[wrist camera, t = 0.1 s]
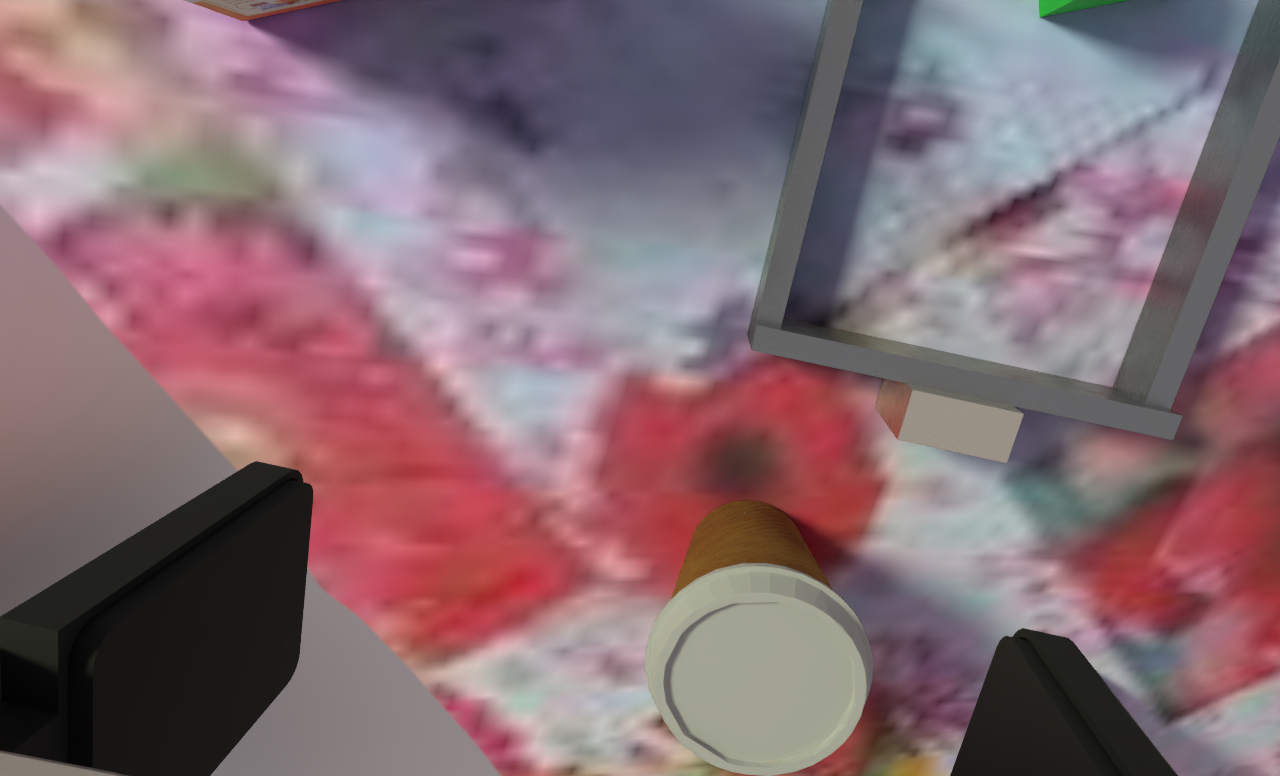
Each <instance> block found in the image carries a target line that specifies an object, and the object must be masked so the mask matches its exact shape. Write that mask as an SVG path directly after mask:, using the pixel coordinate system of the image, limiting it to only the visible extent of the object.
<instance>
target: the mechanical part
mask: <svg viewBox="0 0 1280 776" xmlns="http://www.w3.org/2000/svg"><path fill="white" fill-rule="evenodd" d="M1123 1H1129V0H1039V12H1040V17H1044V16H1050V15H1055V14H1060V13H1065V12H1071V11H1076V10H1081V9H1086V8H1092V7H1097V6H1102V5H1108V4H1113V3H1118V2H1123Z"/></svg>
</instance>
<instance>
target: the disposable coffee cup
mask: <svg viewBox="0 0 1280 776" xmlns="http://www.w3.org/2000/svg"><path fill="white" fill-rule="evenodd" d="M645 671H646V676H647V681H648V686H649V691H650V693H651V695H652V697H653V700H654V702H655V704H656V706H657V708H658V710H659V711H660V713H661V714H662V717H663V719H664V721H665V722H666V724H667V725H668V727H669V728H670V730H671V731H672V733H673V734H674V735H675V736H676V738H677V739H678V740H679V741H680V742H681V744H682V745H684V746H685V747H686V748H688V749H689V750H690V751H691V752H693V753H694V754H695V755H696V756H698V757H699V758H701V759H703V760H705V761H707V762H709V763H711V764H712V765H714V766H716V767H719V768H722V769H725V770H728V771H731V772H736V773H741V774H746V775H763V776H772V775H778V774H784V773H790V772H795V771H798V770H800V769H803V768H806V767H809V766H812V765H814V764H816V763H817V762H819V761H821V760H822V759H824V758H826V757H827V756H829V755H830V754H832V753H833V752H834V751H835V750H836V749H837V748H839V747H840V746H841V745H842V744H843V743H844V742H845V741H846V740H847V738H848V737H849V736H850V735H851V733H852V732H853V730H854V728H855V726H856V725H857V723H858V721H859V719H860V717H861V714H862V711H863V707H864V705H865V703H866V700H867V697H868V694H869V691H870V688H871V683H872V676H873V657H872V652H871V647H870V643H869V640H868V638H867V635H866V632H865V630H864V627H863V626H862V624H861V622H860V621H859V619H858V617H857V616H856V614H855V612H854V611H853V610H852V609H851V608H850V607H849V605H848V604H847V603H846V602H845V601H844V599H843V598H842V597H841V596H839V595H838V594H837V593H836V592H834V591H833V590H832V588H831V586H830V584H829V583H828V581H827V579H826V577H825V576H824V574H823V572H822V571H821V569H820V567H819V565H818V564H817V561H816V560H815V558H814V557H813V555H812V553H811V551H810V550H809V548H808V546H807V544H806V543H805V541H804V539H803V537H802V536H801V534H800V531H799V530H798V528H797V526H796V525H795V523H794V522H793V521H792V520H791V519H790V518H789V517H788V516H787V515H786V514H785V513H783V512H782V511H780V510H779V509H777V508H775V507H773V506H771V505H769V504H766V503H762V502H758V501H748V500H745V501H735V502H731V503H728V504H724V505H722V506H720V507H718V508H716V509H714V510H713V511H712V512H711V513H709V514H708V515H707V516H706V517H705V518H704V519H703V520H702V521H701V522H700V524H699V525H698V526H697V528H696V530H695V532H694V534H693V537H692V540H691V543H690V546H689V549H688V552H687V554H686V557H685V560H684V563H683V566H682V569H681V571H680V574H679V578H678V580H677V583H676V587H675V590H674V592H673V595H672V598H671V600H670V601H669V602H668V603H667V604H666V606H665V607H664V609H663V610H662V612H661V613H660V614H659V616H658V617H657V619H656V621H655V623H654V625H653V628H652V631H651V633H650V636H649V640H648V644H647V647H646V662H645Z"/></svg>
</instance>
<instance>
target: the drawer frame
mask: <svg viewBox="0 0 1280 776" xmlns="http://www.w3.org/2000/svg"><path fill="white" fill-rule="evenodd" d="M862 4H863V0H828V2H827V6H826V10H825V15H824V19H823V23H822V27H821V31H820V35H819V40H818V44H817V48H816V52H815V56H814V60H813V64H812V69H811V73H810V77H809V81H808V85H807V89H806V93H805V98H804V102H803V106H802V110H801V114H800V118H799V122H798V127H797V131H796V135H795V139H794V143H793V147H792V151H791V156H790V160H789V164H788V168H787V172H786V176H785V181H784V185H783V189H782V193H781V197H780V201H779V205H778V210H777V214H776V218H775V222H774V226H773V230H772V234H771V239H770V243H769V247H768V251H767V255H766V259H765V263H764V268H763V272H762V276H761V280H760V284H759V288H758V293H757V297H756V301H755V305H754V309H753V313H752V317H751V322H750V326H749V330H748V338H749V342H750V347H751V350H754V351H758V352H763V353H768V354H772V355H777V356H782V357H786V358H791V359H796V360H800V361H805V362H810V363H814V364H819V365H824V366H828V367H833V368H838V369H842V370H847V371H852V372H856V373H861V374H866V375H870V376H875V377H880V378H884V379H883V382H882V385H881V389H880V392H879V396H878V399H877V402H876V406H875V409H876V410H877V411H878V413H879V414H880V416H881V417H882V418H883V420H884V421H885V423H886V424H887V425H888V427H889V428H890V430H891V431H892V432H893V434H894V435H895V437H896V438H897V439H898V440H901V441H906V442H911V443H915V444H920V445H925V446H929V447H934V448H938V449H943V450H948V451H952V452H957V453H961V454H966V455H971V456H975V457H980V458H985V459H989V460H994V461H998V462H1003V463H1007V461H1008V458H1009V455H1010V452H1011V450H1012V447H1013V444H1014V441H1015V438H1016V435H1017V432H1018V430H1019V427H1020V424H1021V421H1022V418H1023V415H1024V413H1022V412H1021V411H1020V410H1018V409H1017V408H1016V407H1020V408H1024V409H1029V410H1034V411H1038V412H1043V413H1048V414H1052V415H1057V416H1062V417H1066V418H1071V419H1076V420H1080V421H1085V422H1090V423H1094V424H1099V425H1104V426H1108V427H1113V428H1118V429H1122V430H1127V431H1132V432H1136V433H1141V434H1146V435H1150V436H1155V437H1160V438H1164V439H1169V440H1173V439H1174V436H1175V434H1176V432H1177V429H1178V427H1179V424H1180V422H1181V419H1182V417H1183V416H1182V415H1180V414H1178V413H1176V412H1174V411H1172V410H1171V407H1172V405H1173V402H1174V400H1175V397H1176V395H1177V392H1178V390H1179V387H1180V385H1181V382H1182V380H1183V377H1184V375H1185V372H1186V370H1187V367H1188V365H1189V362H1190V360H1191V357H1192V355H1193V352H1194V350H1195V347H1196V345H1197V342H1198V340H1199V337H1200V335H1201V332H1202V330H1203V327H1204V325H1205V322H1206V320H1207V317H1208V315H1209V312H1210V310H1211V307H1212V305H1213V302H1214V300H1215V297H1216V295H1217V292H1218V290H1219V287H1220V285H1221V282H1222V280H1223V278H1224V275H1225V273H1226V270H1227V268H1228V265H1229V263H1230V260H1231V258H1232V255H1233V253H1234V250H1235V248H1236V245H1237V243H1238V240H1239V238H1240V235H1241V233H1242V230H1243V228H1244V225H1245V223H1246V220H1247V218H1248V215H1249V213H1250V210H1251V208H1252V205H1253V203H1254V200H1255V198H1256V195H1257V193H1258V190H1259V188H1260V185H1261V183H1262V180H1263V178H1264V175H1265V173H1266V170H1267V168H1268V165H1269V163H1270V160H1271V158H1272V155H1273V153H1274V150H1275V148H1276V145H1277V143H1278V140H1279V138H1280V0H1259V2H1258V5H1257V8H1256V10H1255V13H1254V16H1253V18H1252V21H1251V24H1250V26H1249V29H1248V31H1247V34H1246V37H1245V39H1244V42H1243V45H1242V47H1241V50H1240V53H1239V55H1238V58H1237V61H1236V63H1235V66H1234V69H1233V71H1232V74H1231V77H1230V79H1229V82H1228V84H1227V87H1226V90H1225V92H1224V95H1223V98H1222V100H1221V103H1220V106H1219V108H1218V111H1217V114H1216V116H1215V119H1214V122H1213V124H1212V127H1211V130H1210V132H1209V135H1208V137H1207V140H1206V143H1205V145H1204V148H1203V151H1202V153H1201V156H1200V159H1199V161H1198V164H1197V167H1196V169H1195V172H1194V175H1193V177H1192V180H1191V182H1190V185H1189V188H1188V190H1187V193H1186V196H1185V198H1184V201H1183V204H1182V206H1181V209H1180V212H1179V214H1178V217H1177V220H1176V222H1175V225H1174V228H1173V230H1172V233H1171V235H1170V238H1169V241H1168V243H1167V246H1166V249H1165V251H1164V254H1163V257H1162V259H1161V262H1160V265H1159V267H1158V270H1157V273H1156V275H1155V278H1154V280H1153V283H1152V286H1151V288H1150V291H1149V294H1148V296H1147V299H1146V302H1145V304H1144V307H1143V310H1142V312H1141V315H1140V318H1139V320H1138V323H1137V326H1136V328H1135V331H1134V333H1133V336H1132V339H1131V341H1130V344H1129V347H1128V349H1127V352H1126V355H1125V357H1124V360H1123V363H1122V365H1121V368H1120V371H1119V373H1118V376H1117V379H1116V381H1115V384H1114V386H1113V388H1112V387H1108V386H1103V385H1098V384H1093V383H1089V382H1084V381H1079V380H1075V379H1070V378H1065V377H1060V376H1056V375H1051V374H1046V373H1042V372H1037V371H1032V370H1028V369H1023V368H1018V367H1013V366H1009V365H1004V364H999V363H995V362H990V361H985V360H980V359H976V358H971V357H966V356H962V355H957V354H952V353H948V352H943V351H938V350H933V349H929V348H924V347H919V346H915V345H910V344H905V343H900V342H896V341H891V340H886V339H882V338H877V337H872V336H868V335H863V334H858V333H853V332H849V331H844V330H839V329H835V328H830V327H825V326H820V325H816V324H811V323H806V322H802V321H797V320H792V319H788V318H783V317H784V313H785V309H786V305H787V301H788V297H789V293H790V289H791V285H792V281H793V277H794V273H795V270H796V266H797V262H798V258H799V254H800V250H801V246H802V242H803V238H804V234H805V230H806V226H807V222H808V218H809V214H810V210H811V206H812V202H813V198H814V194H815V190H816V186H817V182H818V178H819V174H820V170H821V166H822V163H823V159H824V155H825V151H826V147H827V143H828V139H829V135H830V131H831V127H832V123H833V119H834V115H835V111H836V107H837V103H838V99H839V95H840V91H841V87H842V83H843V79H844V75H845V71H846V67H847V63H848V59H849V56H850V52H851V48H852V44H853V40H854V36H855V32H856V28H857V24H858V20H859V16H860V12H861V8H862ZM1014 406H1015V407H1014Z"/></svg>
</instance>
